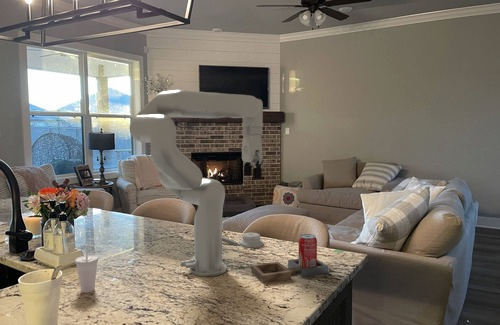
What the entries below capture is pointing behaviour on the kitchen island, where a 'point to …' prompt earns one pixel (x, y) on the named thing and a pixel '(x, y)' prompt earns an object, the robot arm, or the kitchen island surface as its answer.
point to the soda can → (307, 251)
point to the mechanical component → (251, 240)
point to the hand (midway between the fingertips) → (252, 176)
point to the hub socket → (306, 272)
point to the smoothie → (87, 271)
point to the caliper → (230, 241)
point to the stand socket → (270, 277)
